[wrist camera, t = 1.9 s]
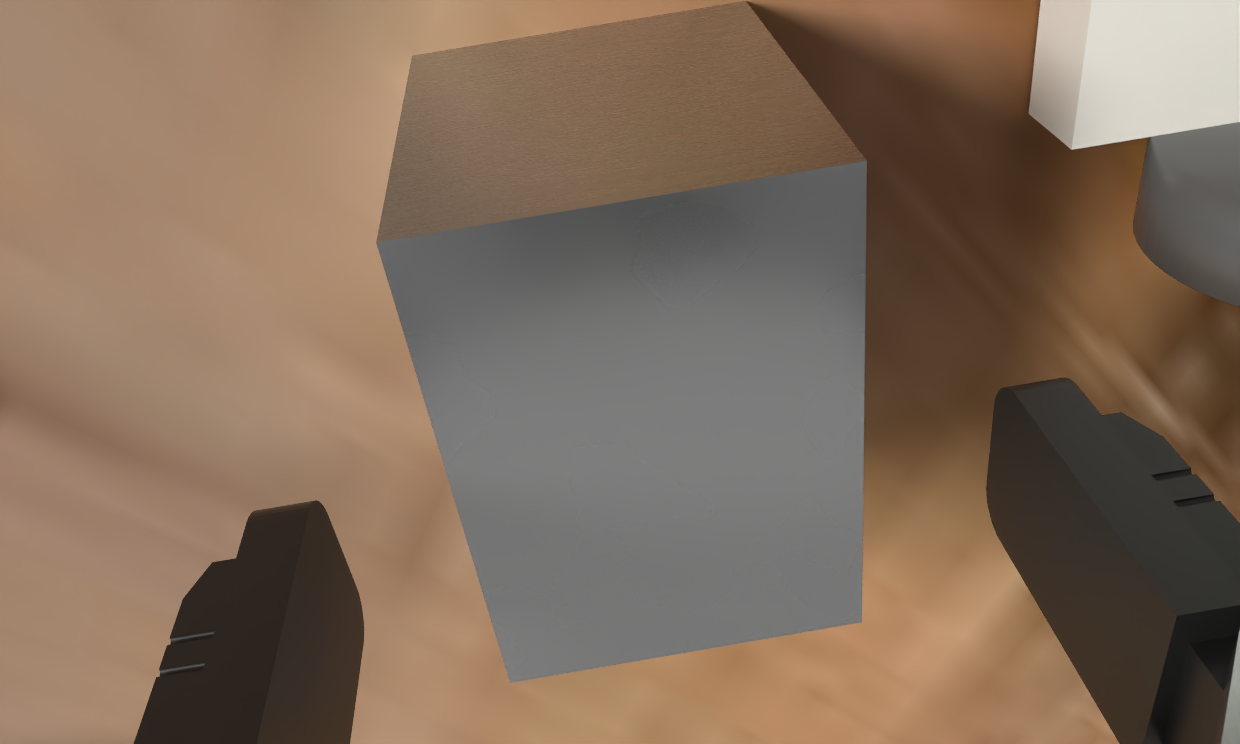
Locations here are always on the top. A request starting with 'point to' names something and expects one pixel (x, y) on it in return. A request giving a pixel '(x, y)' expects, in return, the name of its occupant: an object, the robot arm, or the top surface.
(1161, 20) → the toy chassis
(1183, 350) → the top surface
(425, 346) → the block
